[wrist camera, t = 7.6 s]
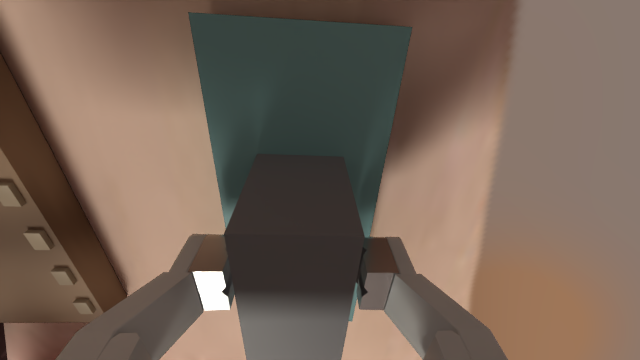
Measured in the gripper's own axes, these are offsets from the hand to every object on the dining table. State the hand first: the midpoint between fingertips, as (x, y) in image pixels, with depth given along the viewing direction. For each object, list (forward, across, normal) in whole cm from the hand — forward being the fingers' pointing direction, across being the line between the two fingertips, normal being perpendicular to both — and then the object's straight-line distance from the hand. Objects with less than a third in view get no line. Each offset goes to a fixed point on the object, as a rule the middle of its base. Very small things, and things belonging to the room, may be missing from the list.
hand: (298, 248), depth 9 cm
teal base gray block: (+3, 0, 0) cm, 3 cm away
